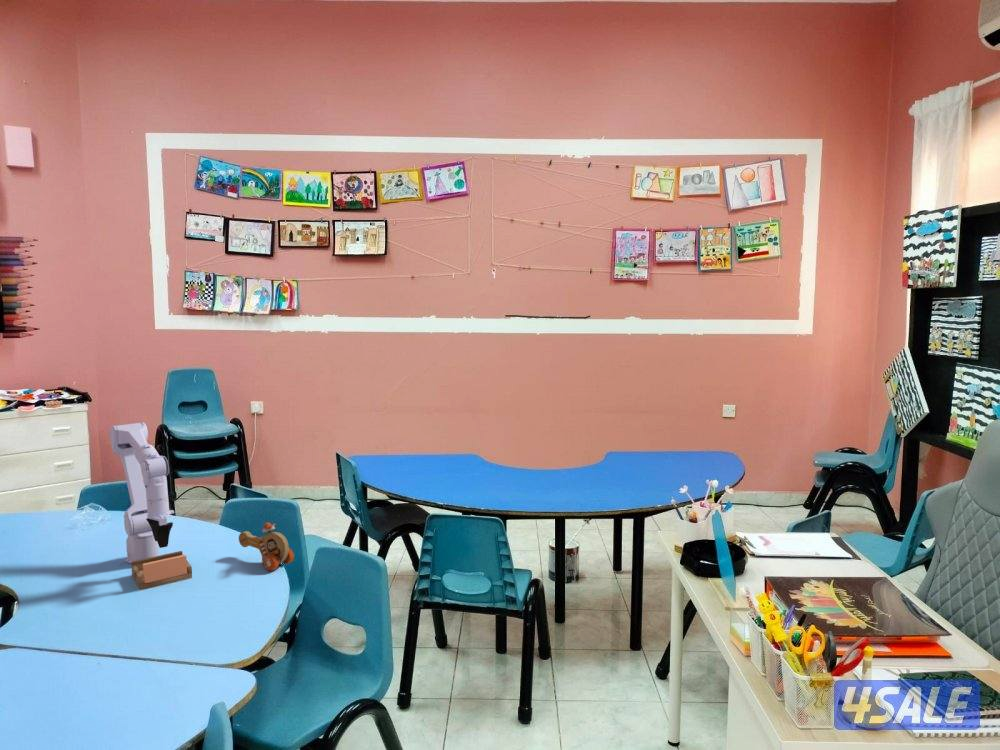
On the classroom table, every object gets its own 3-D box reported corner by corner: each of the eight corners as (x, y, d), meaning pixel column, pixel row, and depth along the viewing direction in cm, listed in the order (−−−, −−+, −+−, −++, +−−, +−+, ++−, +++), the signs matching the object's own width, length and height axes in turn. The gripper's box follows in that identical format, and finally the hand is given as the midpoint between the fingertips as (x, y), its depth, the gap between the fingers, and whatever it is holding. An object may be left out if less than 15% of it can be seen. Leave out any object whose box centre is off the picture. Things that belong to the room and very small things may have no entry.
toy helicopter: (276, 573, 209) (275, 530, 207) (230, 559, 219) (228, 517, 217) (297, 564, 216) (295, 521, 214) (251, 550, 226) (249, 510, 224)
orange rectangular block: (143, 582, 198) (142, 563, 198) (186, 572, 205) (185, 554, 204) (144, 583, 197) (143, 565, 197) (187, 573, 204) (186, 555, 203)
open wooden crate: (132, 576, 206) (131, 561, 206) (182, 564, 215) (181, 550, 214) (140, 590, 197) (139, 575, 196) (192, 577, 205) (191, 563, 205)
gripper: (176, 500, 199) (180, 546, 200) (168, 491, 211) (171, 534, 212) (149, 505, 195) (153, 552, 196) (142, 495, 207) (146, 539, 208)
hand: (161, 543), depth 204 cm, fingers open, 7 cm apart
